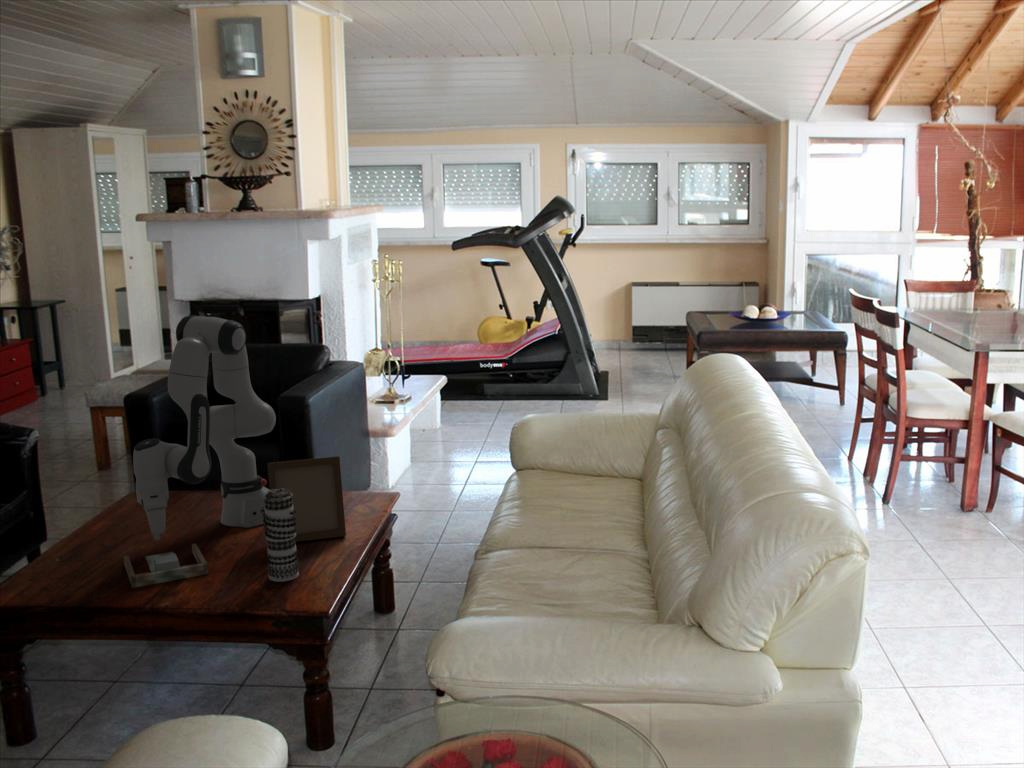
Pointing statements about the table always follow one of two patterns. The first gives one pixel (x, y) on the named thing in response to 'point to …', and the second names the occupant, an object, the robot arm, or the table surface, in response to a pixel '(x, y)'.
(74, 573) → the table surface
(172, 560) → the block
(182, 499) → the table surface
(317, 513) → the photo frame
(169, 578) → the grey-green e-shaped frame
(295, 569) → the black white tall cylinder
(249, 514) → the robot arm
